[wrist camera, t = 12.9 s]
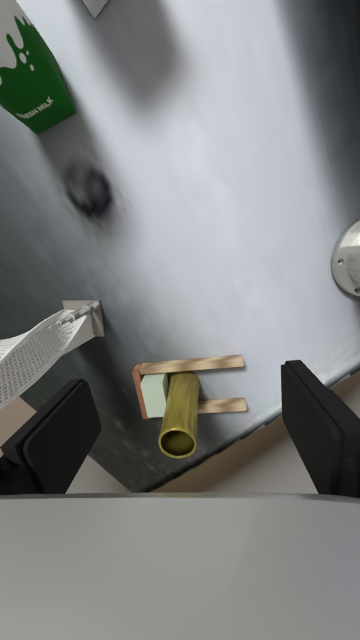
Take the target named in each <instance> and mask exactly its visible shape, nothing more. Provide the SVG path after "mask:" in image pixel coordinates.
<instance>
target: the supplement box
mask: <svg viewBox="0 0 360 640" xmlns="http://www.w3.org/2000/svg"><path fill="white" fill-rule="evenodd" d="M82 1H83V3H84V4H85V6H86V7H87V8H88V10H89V11H90V13H91V14H92V16H93V17H94V18H96V17H97V15H98V14H99V12H100V11H101V10H102V8H103V7H104V5H105V4H106V3H107V1H108V0H82Z"/></svg>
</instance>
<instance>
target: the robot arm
mask: <svg viewBox="0 0 360 640" xmlns="http://www.w3.org/2000/svg"><path fill="white" fill-rule="evenodd" d="M331 265H332V273H333V276H334V279H335V280H336V282H337V284H338V285H339V286H340V287H341V288H342V289H343V290H345V291H346V292H348V293H350V294H353V295H355V296H360V219H359V220H358V221H356V222H355V223H354V224H352V225H351V226H350V227H349V228H348V229H347V230H346V231H345V232H344V233H343V235H342V236H341V238H340V239H339V240H338V242H337V244H336V246H335V249H334V252H333V255H332V264H331ZM281 391H282V417H283V421H284V424H285V426H286V428H287V430H288V432H289V434H290V436H291V438H292V440H293V442H294V444H295V446H296V448H297V450H298V452H299V455H300V457H301V459H302V460H303V463H304V465H305V467H306V469H307V471H308V473H309V474H310V477H311V479H312V481H313V483H314V485H315V487H316V489H317V491H318V493H319V494H301V493H299V494H298V493H82V494H81V493H78V494H65V493H66V491H67V489H68V488H69V486H70V484H71V483H72V480H73V479H74V477H75V475H76V474H77V472H78V470H79V468H80V467H81V465H82V463H83V461H84V459H85V458H86V456H87V454H88V453H89V451H90V449H91V447H92V446H93V444H94V442H95V440H96V439H97V437H98V435H99V433H100V431H101V423H100V419H99V416H98V413H97V410H96V407H95V403H94V400H93V397H92V394H91V391H90V388H89V384H88V383H87V382H86V381H85V380H84V379H74V380H70V381H69V382H68V383H67V384H66V385H65V386H64V387H63V388H61V389H60V390H59V391H58V392H57V393H56V394H55V395H54V396H53V397H52V398H51V399H50V400H49V401H48V402H47V403H46V404H45V405H44V406H43V407H42V408H41V409H40V410H38V411H37V412H36V413H35V414H34V415H33V416H32V417H31V418H30V419H29V420H28V421H27V422H26V423H25V424H24V425H23V426H22V427H21V428H20V429H19V430H18V431H17V432H15V433H14V434H13V435H12V436H11V437H10V438H9V439H8V440H7V441H6V442H5V443H4V444H3V445H2V446H1V447H0V448H1V450H2V452H3V454H4V455H3V456H2V457H1V458H0V640H360V419H359V418H358V417H357V415H356V414H354V412H353V411H352V410H351V409H350V408H349V407H348V406H347V405H346V404H345V403H344V402H343V401H342V400H341V399H340V398H339V397H338V396H337V395H336V394H335V393H334V392H333V391H332V390H331V389H327V388H326V387H325V386H324V385H323V384H322V382H321V381H320V380H319V379H318V378H317V377H316V376H315V375H314V374H313V373H312V372H311V371H310V370H309V369H308V368H307V366H306V365H305V364H304V363H303V362H302V361H301V360H292V361H286V362H285V364H284V365H281Z"/></svg>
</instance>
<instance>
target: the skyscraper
mask: <svg viewBox="0 0 360 640" xmlns="http://www.w3.org/2000/svg"><path fill="white" fill-rule="evenodd" d="M63 305H64V310H62V311H60V312H58V313H56V314H54V315H52V316H50V317H49V318H47V319H45V320H44V321H42V322H41V323H39V324H38V325H37V326H35V327H34V328H33V329H32V330H30V331H28V332H26V333H24V334H22V335H19V336H16V337H13V338H10V339H4V340H0V409H2V408H3V407H5V406H6V405H7V404H9V403H10V402H11V401H12V400H14V399H15V398H17V397H18V396H19V395H21V394H22V393H23V392H24V391H25V390H27V389H28V388H29V387H30V386H31V385H33V384H34V383H35V382H36V381H37V380H38V379H39V378H40V377H41V376H42V375H43V374H44V373H45V372H46V371H47V370H48V369H49V368H50V367H51V366H52V365H53V364H54V363H55V362H56V361H57V360H58V359H59V357H60V356H62V355H64V354H66V353H67V352H69V351H71V350H73V349H74V348H76V347H78V346H80V345H81V344H83V343H85V342H87V341H88V340H90V339H92V338H93V337H104V336H105V332H104V325H103V318H102V311H101V303H100V300H73V301H63Z"/></svg>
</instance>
